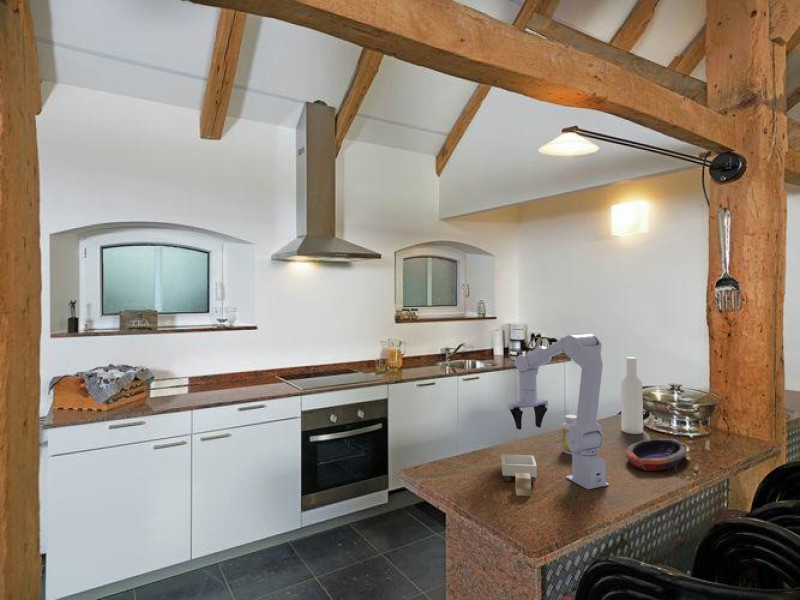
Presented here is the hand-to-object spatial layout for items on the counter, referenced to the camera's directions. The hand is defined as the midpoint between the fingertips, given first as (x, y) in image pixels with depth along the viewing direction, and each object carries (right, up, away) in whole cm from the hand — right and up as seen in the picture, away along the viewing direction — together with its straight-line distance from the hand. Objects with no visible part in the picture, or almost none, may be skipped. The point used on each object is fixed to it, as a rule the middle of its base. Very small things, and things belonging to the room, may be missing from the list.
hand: (528, 427), depth 164 cm
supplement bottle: (+17, -10, +3) cm, 20 cm away
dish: (+41, -10, -6) cm, 42 cm away
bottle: (+49, -9, +27) cm, 57 cm away
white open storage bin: (-8, -10, -19) cm, 23 cm away
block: (-10, -11, -30) cm, 33 cm away
